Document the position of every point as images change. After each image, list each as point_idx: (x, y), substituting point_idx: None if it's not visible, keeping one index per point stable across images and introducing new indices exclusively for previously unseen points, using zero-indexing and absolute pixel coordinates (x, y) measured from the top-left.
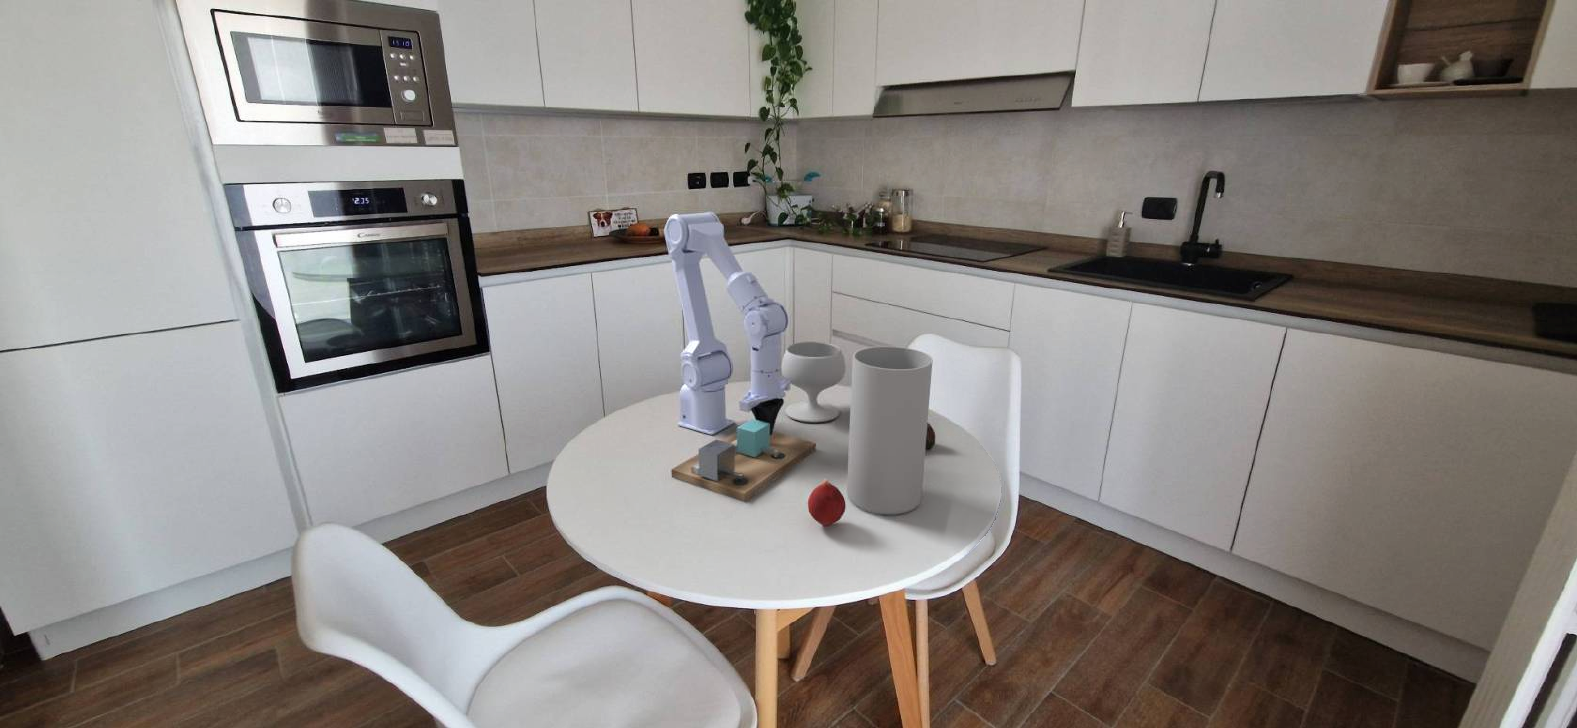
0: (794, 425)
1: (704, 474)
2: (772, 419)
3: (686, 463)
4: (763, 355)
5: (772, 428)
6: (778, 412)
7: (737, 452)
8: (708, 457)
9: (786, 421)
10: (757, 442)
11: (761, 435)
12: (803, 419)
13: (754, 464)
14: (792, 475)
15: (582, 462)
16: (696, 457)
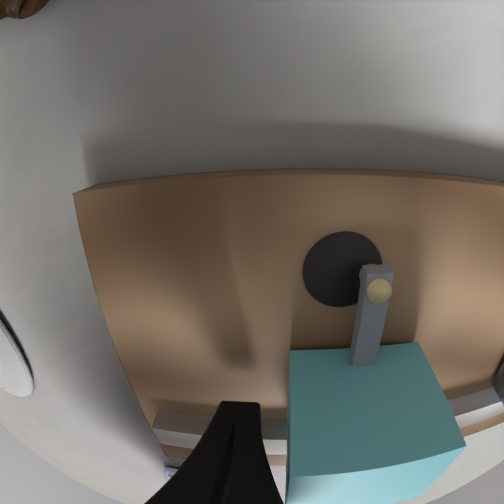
0: (41, 353)
1: None
2: (231, 486)
3: (479, 426)
4: None
5: (225, 429)
6: (153, 499)
7: None
8: None
9: (48, 379)
10: (418, 395)
11: (386, 424)
12: (10, 344)
13: (464, 304)
14: (406, 121)
15: (453, 485)
16: None
